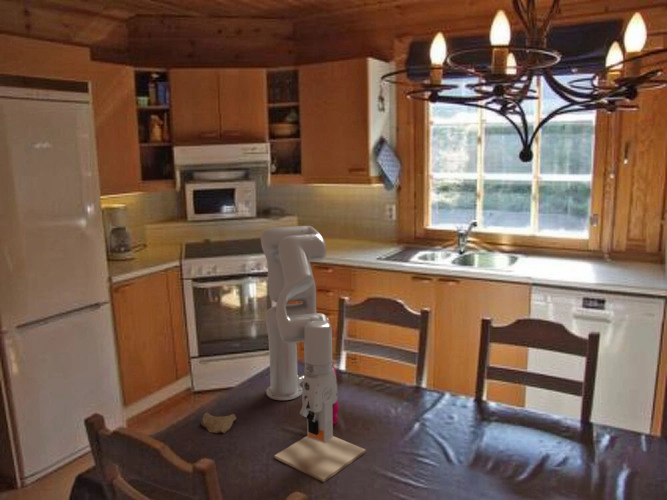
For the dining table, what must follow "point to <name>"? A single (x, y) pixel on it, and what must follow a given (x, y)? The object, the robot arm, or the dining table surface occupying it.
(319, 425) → the skincare box
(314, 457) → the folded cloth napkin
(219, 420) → the pottery shard
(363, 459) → the dining table surface
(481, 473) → the dining table surface
